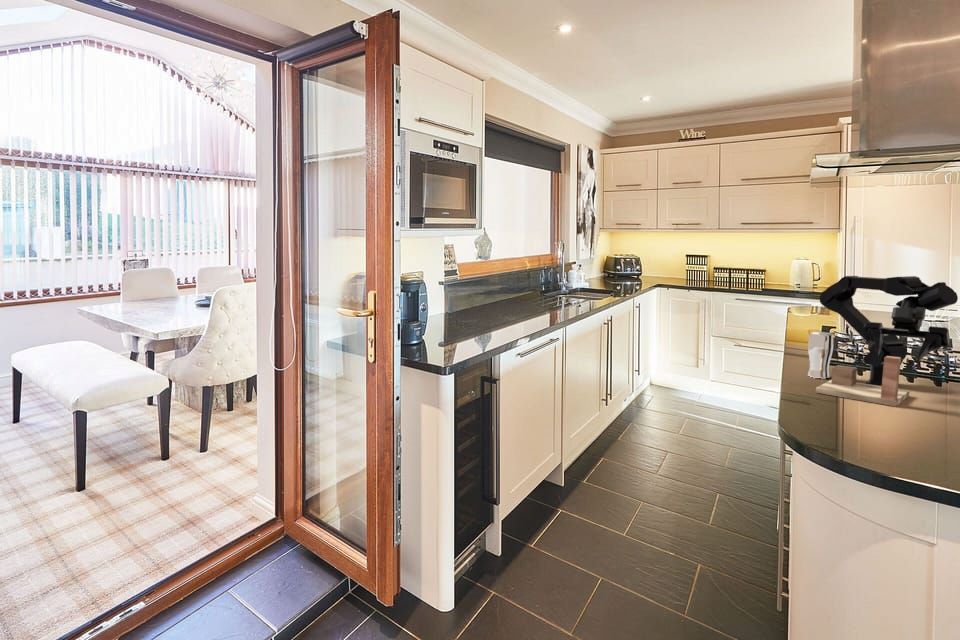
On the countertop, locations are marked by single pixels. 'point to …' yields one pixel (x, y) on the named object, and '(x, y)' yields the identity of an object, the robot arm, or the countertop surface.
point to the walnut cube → (844, 375)
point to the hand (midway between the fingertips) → (897, 356)
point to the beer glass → (820, 354)
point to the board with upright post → (872, 387)
